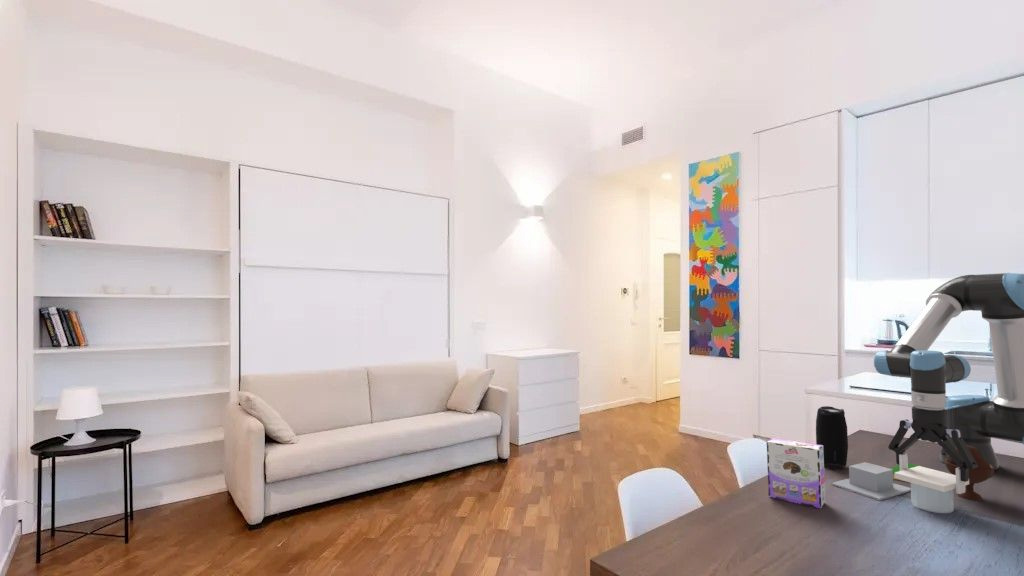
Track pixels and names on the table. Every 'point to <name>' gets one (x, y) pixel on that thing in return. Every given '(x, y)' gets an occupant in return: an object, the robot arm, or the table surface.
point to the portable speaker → (832, 436)
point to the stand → (872, 481)
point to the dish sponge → (899, 469)
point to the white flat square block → (928, 478)
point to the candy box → (796, 472)
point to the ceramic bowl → (931, 499)
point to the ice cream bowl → (972, 473)
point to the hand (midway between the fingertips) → (931, 484)
